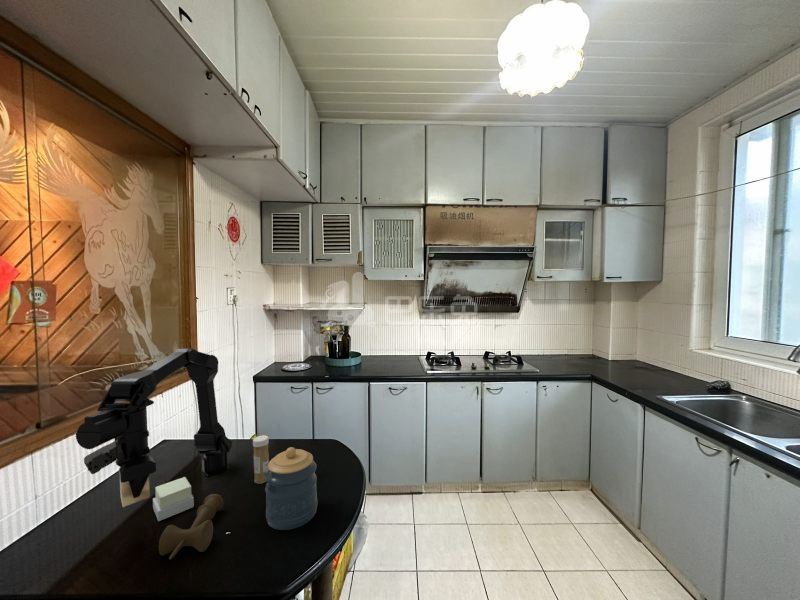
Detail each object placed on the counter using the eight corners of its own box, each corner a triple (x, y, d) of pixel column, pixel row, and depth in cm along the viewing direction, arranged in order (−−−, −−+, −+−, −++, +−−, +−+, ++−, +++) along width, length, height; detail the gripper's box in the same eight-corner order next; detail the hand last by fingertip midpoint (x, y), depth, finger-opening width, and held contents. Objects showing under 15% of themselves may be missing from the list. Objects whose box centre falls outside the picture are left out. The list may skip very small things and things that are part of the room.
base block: (187, 496, 95) (186, 485, 95) (193, 508, 89) (193, 497, 89) (153, 509, 89) (152, 498, 89) (158, 523, 83) (157, 511, 83)
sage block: (185, 486, 94) (185, 476, 94) (191, 497, 89) (191, 486, 89) (155, 497, 89) (155, 487, 89) (160, 509, 84) (160, 497, 84)
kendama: (233, 510, 88) (194, 570, 68) (196, 514, 87) (145, 576, 67) (232, 488, 88) (193, 542, 68) (195, 492, 87) (144, 547, 67)
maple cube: (146, 488, 82) (145, 469, 82) (149, 497, 78) (148, 476, 78) (120, 498, 78) (119, 477, 78) (122, 507, 75) (121, 486, 75)
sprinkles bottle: (271, 481, 101) (269, 438, 101) (255, 486, 98) (254, 442, 98) (268, 474, 105) (266, 433, 104) (252, 479, 102) (251, 437, 102)
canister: (303, 492, 94) (301, 433, 94) (327, 513, 85) (325, 447, 85) (257, 514, 85) (256, 448, 85) (279, 540, 76) (277, 466, 76)
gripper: (84, 428, 79) (87, 491, 79) (87, 454, 66) (90, 529, 66) (142, 415, 87) (145, 472, 87) (155, 436, 74) (157, 503, 74)
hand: (135, 492), depth 78 cm, fingers closed on maple cube, 5 cm apart
